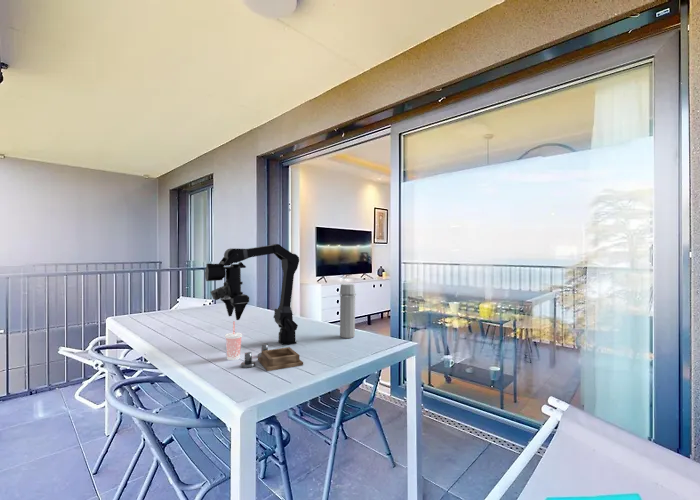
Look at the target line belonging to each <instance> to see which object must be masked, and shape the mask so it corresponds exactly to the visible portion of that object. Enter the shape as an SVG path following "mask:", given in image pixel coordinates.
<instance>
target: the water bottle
mask: <svg viewBox="0 0 700 500" xmlns="http://www.w3.org/2000/svg"><path fill="white" fill-rule="evenodd" d="M338 295H339V296H340V298H339V299H340V300H339V303H340V304H339V305H340V307H339V308H340V309H339V313H340V314H339V320H340V321H339V336H340V338H343V339H352V338H354V337H355V335H356V333H355V331H356V295H357V294H356V288H355V284H354V283H340V289H339V294H338Z"/></svg>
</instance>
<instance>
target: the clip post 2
mask: <svg viewBox="0 0 700 500" xmlns="http://www.w3.org/2000/svg"><path fill="white" fill-rule="evenodd" d="M260 345H261V351H265V350H269V345H268V343H262V344H260ZM261 351H260V352H259V353H257V358H258V357H261Z"/></svg>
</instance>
